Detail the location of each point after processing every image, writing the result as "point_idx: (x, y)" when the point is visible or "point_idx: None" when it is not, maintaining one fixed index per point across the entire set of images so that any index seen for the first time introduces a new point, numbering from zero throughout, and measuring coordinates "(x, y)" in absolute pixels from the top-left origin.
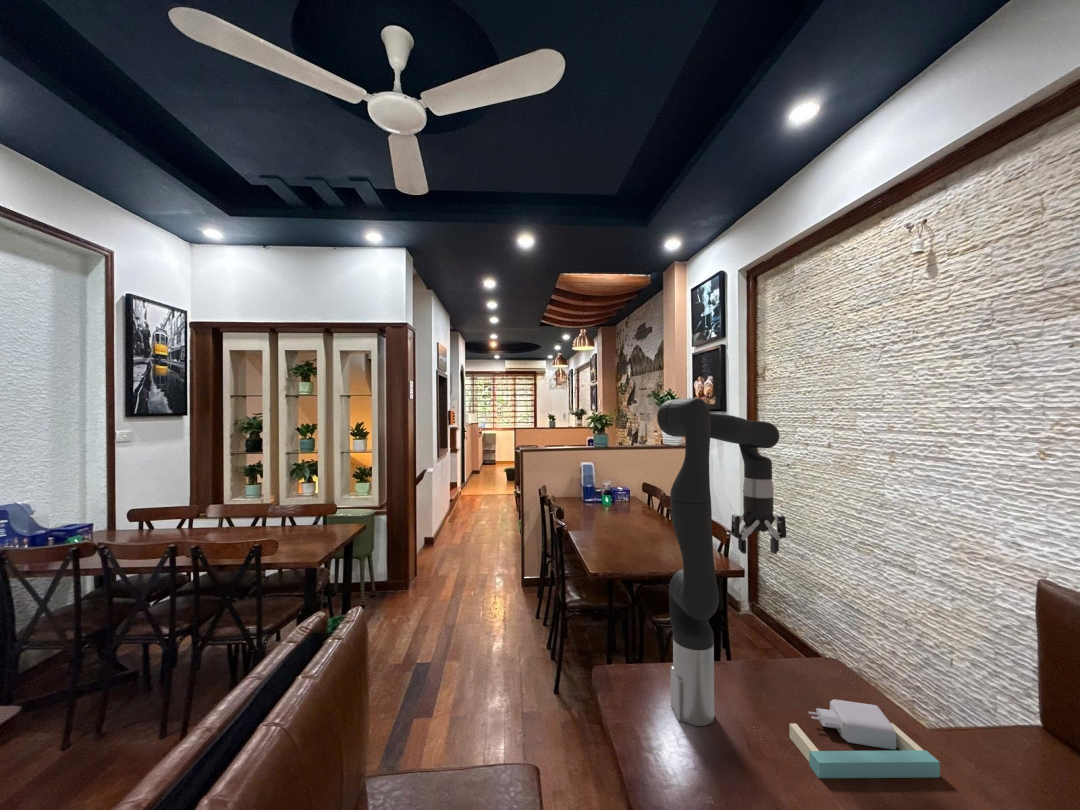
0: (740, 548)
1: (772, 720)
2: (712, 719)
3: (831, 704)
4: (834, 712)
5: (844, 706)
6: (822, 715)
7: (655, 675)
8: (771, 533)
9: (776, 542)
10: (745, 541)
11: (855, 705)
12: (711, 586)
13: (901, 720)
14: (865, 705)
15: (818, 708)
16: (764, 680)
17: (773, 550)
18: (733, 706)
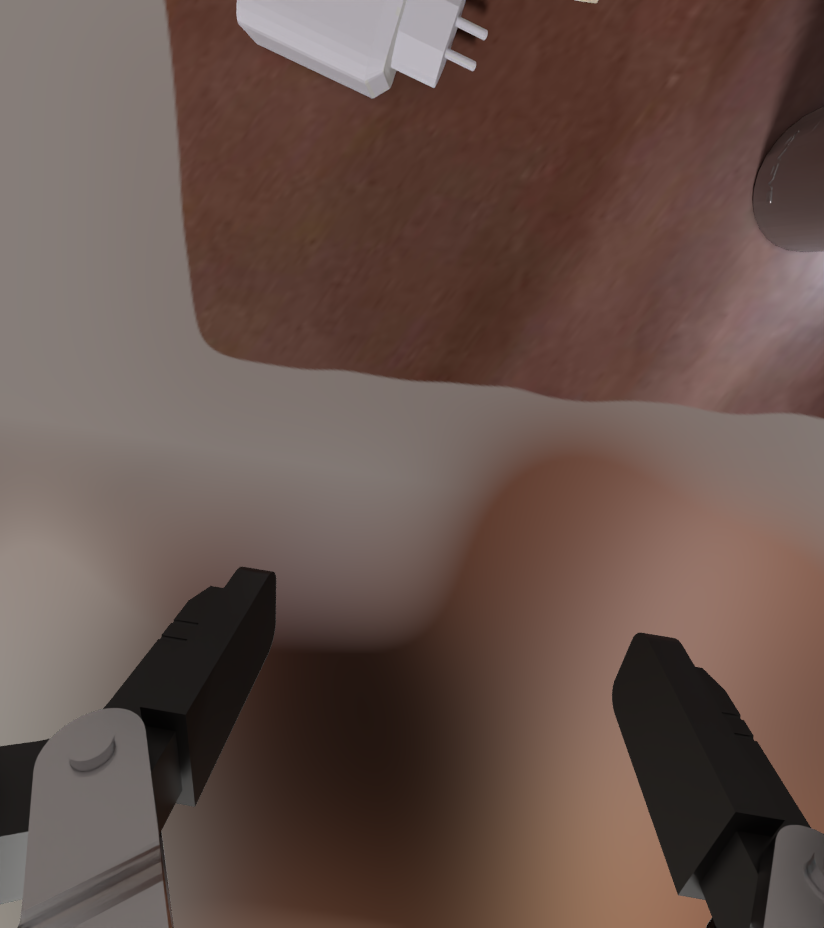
0: (730, 707)
1: (586, 105)
2: (803, 118)
3: (388, 52)
4: (401, 21)
5: (360, 7)
6: (457, 8)
7: (792, 397)
8: (166, 895)
9: (170, 680)
10: (736, 796)
11: (315, 7)
12: None
13: (170, 46)
14: (278, 5)
15: (433, 71)
16: (462, 318)
17: (261, 611)
18: (660, 199)
